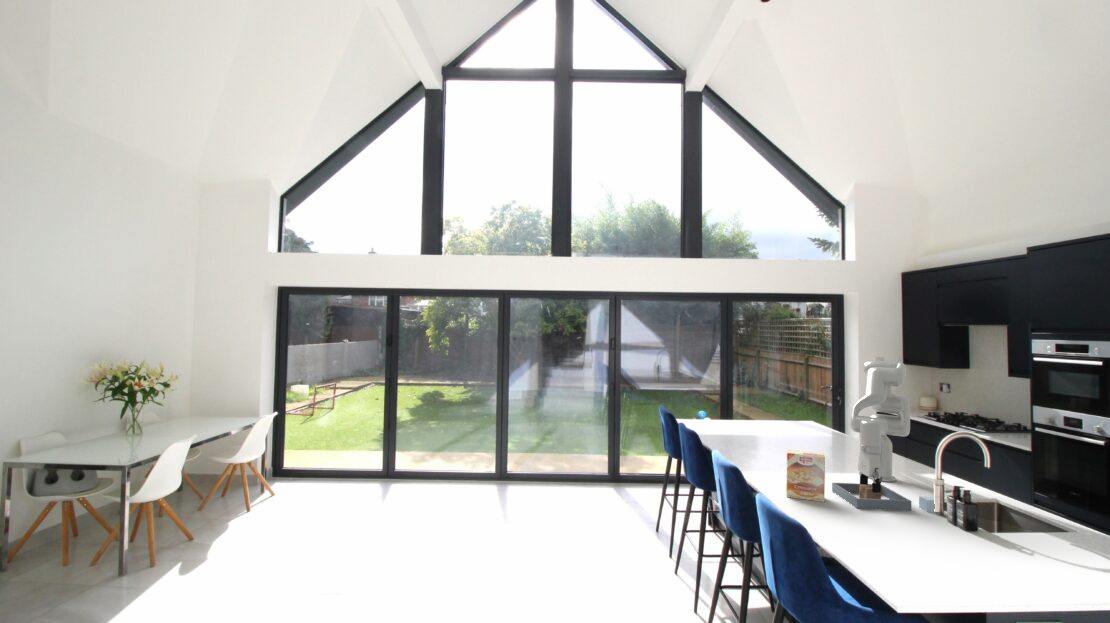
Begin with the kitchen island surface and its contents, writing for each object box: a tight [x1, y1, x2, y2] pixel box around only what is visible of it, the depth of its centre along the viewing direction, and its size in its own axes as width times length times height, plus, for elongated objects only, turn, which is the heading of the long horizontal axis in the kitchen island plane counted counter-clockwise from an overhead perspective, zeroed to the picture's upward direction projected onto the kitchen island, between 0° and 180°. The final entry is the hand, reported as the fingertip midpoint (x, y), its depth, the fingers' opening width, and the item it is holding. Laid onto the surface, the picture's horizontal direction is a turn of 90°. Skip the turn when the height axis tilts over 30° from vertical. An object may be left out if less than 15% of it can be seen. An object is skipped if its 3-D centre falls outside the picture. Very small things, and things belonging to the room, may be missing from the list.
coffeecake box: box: [785, 449, 826, 503], centre depth 225 cm, size 15×7×20 cm, turn 68°
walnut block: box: [858, 483, 882, 499], centre depth 223 cm, size 6×6×6 cm
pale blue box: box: [918, 495, 935, 513], centre depth 213 cm, size 5×5×5 cm
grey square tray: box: [831, 482, 912, 512], centre depth 223 cm, size 22×22×4 cm
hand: (870, 488), depth 223 cm, fingers open, 9 cm apart
